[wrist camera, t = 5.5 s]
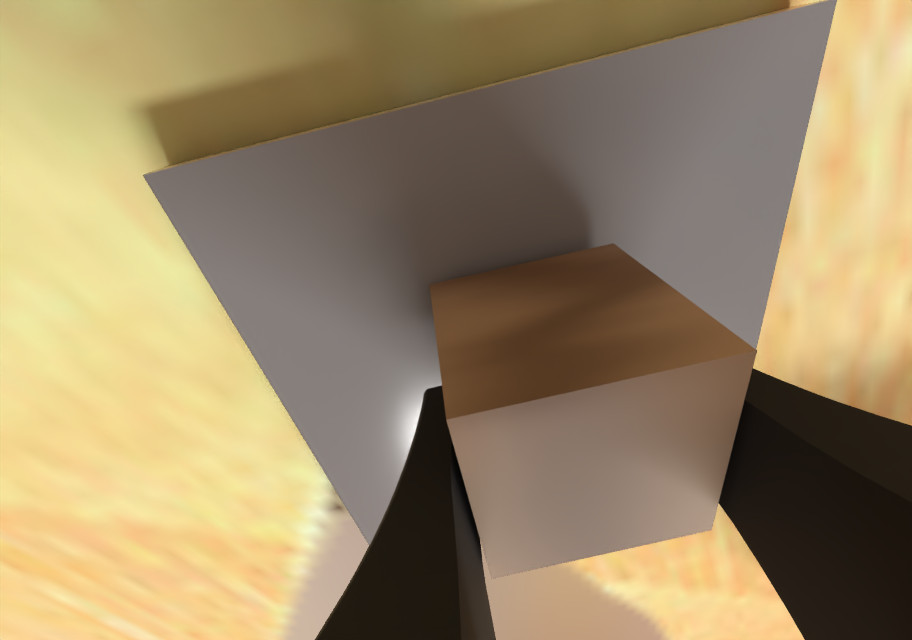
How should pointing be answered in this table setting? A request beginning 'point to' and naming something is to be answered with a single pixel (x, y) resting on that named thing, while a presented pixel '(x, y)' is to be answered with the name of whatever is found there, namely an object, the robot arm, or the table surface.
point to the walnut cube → (585, 406)
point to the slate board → (495, 216)
